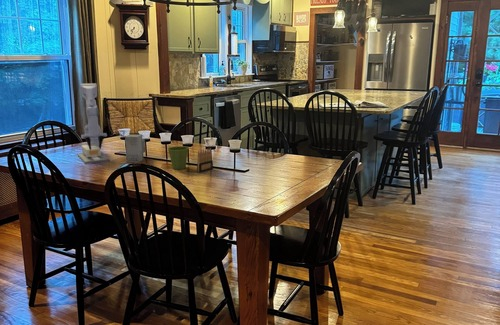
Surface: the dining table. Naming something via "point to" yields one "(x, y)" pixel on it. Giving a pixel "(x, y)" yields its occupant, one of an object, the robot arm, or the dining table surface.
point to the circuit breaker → (134, 148)
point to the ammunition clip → (204, 161)
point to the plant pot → (178, 156)
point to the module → (93, 152)
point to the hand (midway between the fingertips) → (95, 149)
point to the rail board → (92, 159)
